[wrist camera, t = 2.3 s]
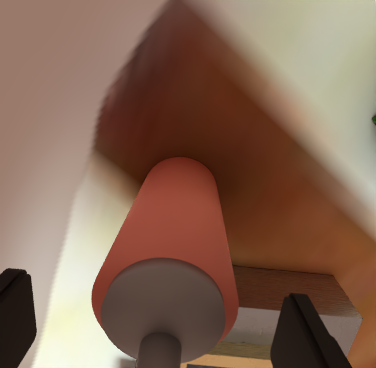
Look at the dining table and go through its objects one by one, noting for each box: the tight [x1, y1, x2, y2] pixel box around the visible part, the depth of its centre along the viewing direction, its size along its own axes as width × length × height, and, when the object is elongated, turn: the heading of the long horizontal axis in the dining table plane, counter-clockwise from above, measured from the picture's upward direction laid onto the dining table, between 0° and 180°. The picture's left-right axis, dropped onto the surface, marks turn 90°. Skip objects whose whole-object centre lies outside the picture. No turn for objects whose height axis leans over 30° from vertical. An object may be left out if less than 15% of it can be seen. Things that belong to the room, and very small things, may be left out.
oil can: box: [92, 157, 239, 368], centre depth 13 cm, size 5×5×13 cm
